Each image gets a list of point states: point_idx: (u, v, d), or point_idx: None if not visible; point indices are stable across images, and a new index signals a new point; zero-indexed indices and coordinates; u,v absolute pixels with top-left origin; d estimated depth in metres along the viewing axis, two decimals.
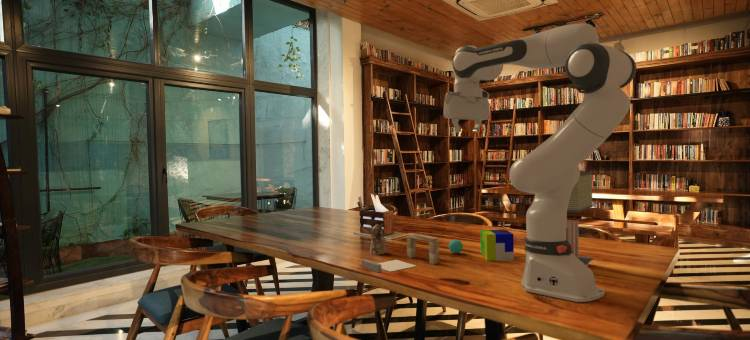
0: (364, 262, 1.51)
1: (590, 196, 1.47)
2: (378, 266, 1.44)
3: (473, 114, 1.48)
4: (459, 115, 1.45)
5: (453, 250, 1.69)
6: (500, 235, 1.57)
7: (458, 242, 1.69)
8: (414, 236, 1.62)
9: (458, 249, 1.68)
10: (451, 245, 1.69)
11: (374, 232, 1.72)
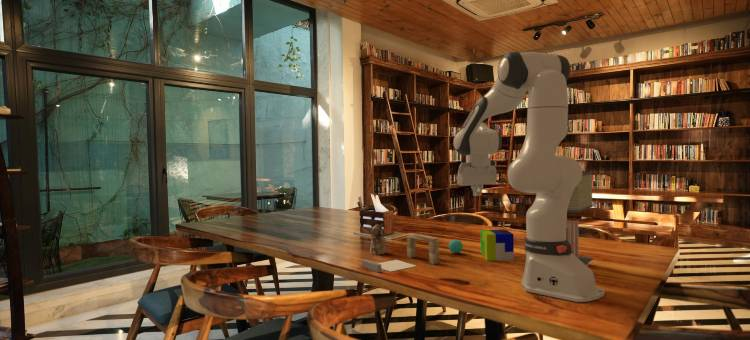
0: (364, 262, 1.51)
1: (590, 196, 1.47)
2: (378, 266, 1.44)
3: (482, 181, 1.72)
4: (470, 183, 1.68)
5: (453, 250, 1.69)
6: (500, 235, 1.57)
7: (458, 242, 1.69)
8: (414, 236, 1.62)
9: (458, 249, 1.68)
10: (451, 245, 1.69)
11: (374, 232, 1.72)
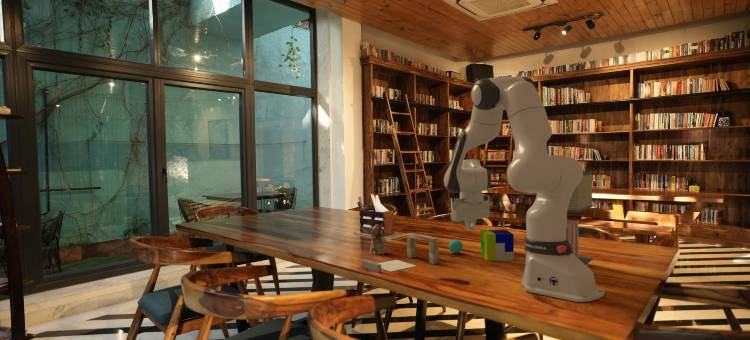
0: (364, 262, 1.51)
1: (590, 196, 1.47)
2: (378, 266, 1.44)
3: (475, 216, 1.76)
4: (464, 218, 1.72)
5: (453, 250, 1.69)
6: (500, 235, 1.57)
7: (458, 242, 1.69)
8: (414, 236, 1.62)
9: (458, 249, 1.68)
10: (451, 245, 1.69)
11: (374, 232, 1.72)
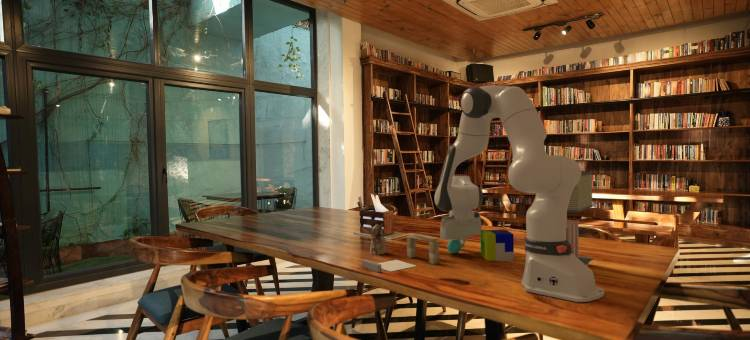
0: (364, 262, 1.51)
1: (590, 196, 1.47)
2: (378, 266, 1.44)
3: (466, 233, 1.72)
4: (453, 236, 1.68)
5: (452, 251, 1.69)
6: (500, 235, 1.57)
7: (456, 242, 1.69)
8: (414, 236, 1.62)
9: (457, 249, 1.68)
10: (449, 247, 1.69)
11: (374, 232, 1.72)
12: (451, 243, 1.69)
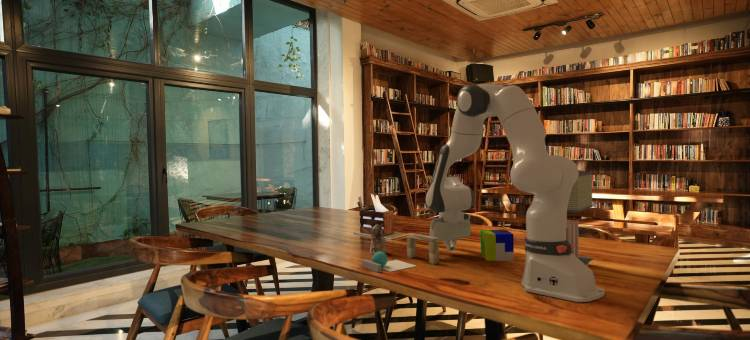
0: (364, 262, 1.51)
1: (590, 196, 1.47)
2: (378, 266, 1.44)
3: (455, 235, 1.68)
4: (443, 239, 1.64)
5: None
6: (500, 235, 1.57)
7: (380, 255, 1.49)
8: (414, 236, 1.62)
9: (382, 263, 1.49)
10: (374, 261, 1.49)
11: (374, 232, 1.72)
12: (375, 256, 1.49)
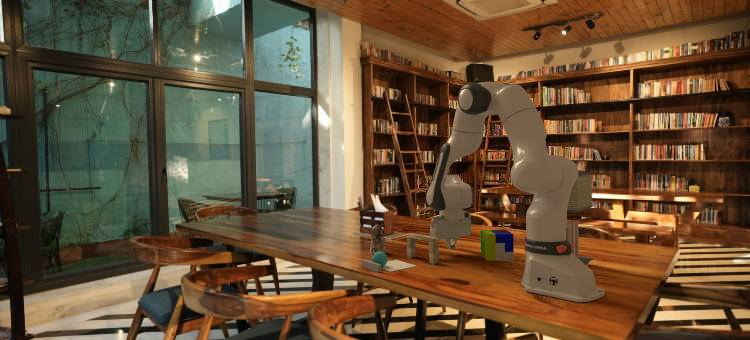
0: (364, 262, 1.51)
1: (590, 196, 1.47)
2: (378, 266, 1.44)
3: (456, 234, 1.68)
4: (443, 237, 1.64)
5: None
6: (500, 235, 1.57)
7: (380, 255, 1.49)
8: (414, 236, 1.62)
9: (382, 263, 1.49)
10: (374, 261, 1.49)
11: (374, 232, 1.72)
12: (375, 256, 1.49)
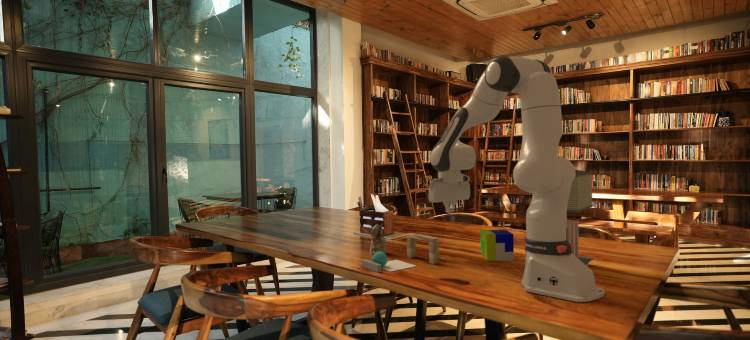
0: (364, 262, 1.51)
1: (590, 196, 1.47)
2: (378, 266, 1.44)
3: (454, 197, 1.68)
4: (442, 199, 1.64)
5: None
6: (500, 235, 1.57)
7: (380, 255, 1.49)
8: (414, 236, 1.62)
9: (382, 263, 1.49)
10: (374, 261, 1.49)
11: (374, 232, 1.72)
12: (375, 256, 1.49)
